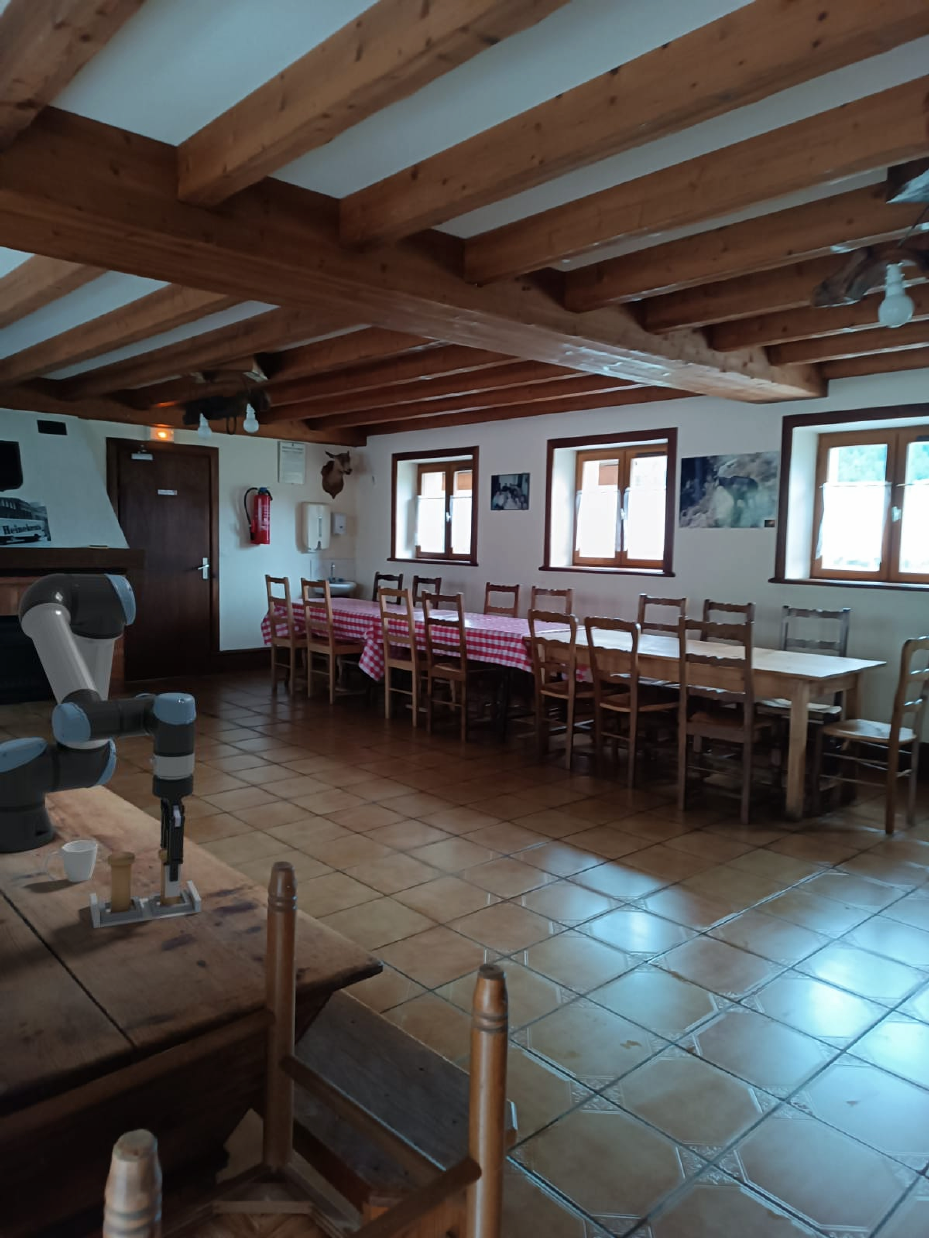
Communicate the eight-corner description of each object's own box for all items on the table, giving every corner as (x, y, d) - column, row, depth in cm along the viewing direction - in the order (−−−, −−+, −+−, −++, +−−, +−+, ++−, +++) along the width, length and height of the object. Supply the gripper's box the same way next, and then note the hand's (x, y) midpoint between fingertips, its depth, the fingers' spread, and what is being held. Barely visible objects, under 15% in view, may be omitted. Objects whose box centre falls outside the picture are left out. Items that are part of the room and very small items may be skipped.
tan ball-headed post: (180, 899, 170) (182, 845, 169) (184, 908, 165) (186, 853, 164) (155, 902, 167) (156, 848, 166) (158, 912, 163) (160, 856, 162)
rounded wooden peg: (105, 909, 163) (106, 853, 162) (132, 905, 166) (133, 850, 165) (107, 919, 159) (109, 862, 158) (135, 915, 161) (136, 859, 160)
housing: (89, 911, 164) (90, 893, 164) (191, 897, 173) (191, 880, 173) (93, 934, 156) (94, 915, 155) (200, 917, 164) (201, 899, 164)
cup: (97, 888, 175) (98, 850, 175) (43, 893, 171) (43, 854, 171) (97, 875, 182) (98, 838, 181) (45, 880, 178) (45, 842, 177)
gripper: (146, 764, 170) (144, 878, 172) (159, 787, 155) (156, 911, 157) (185, 762, 173) (183, 873, 175) (201, 784, 159) (198, 905, 161)
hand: (170, 891), depth 166 cm, fingers closed on tan ball-headed post, 4 cm apart
